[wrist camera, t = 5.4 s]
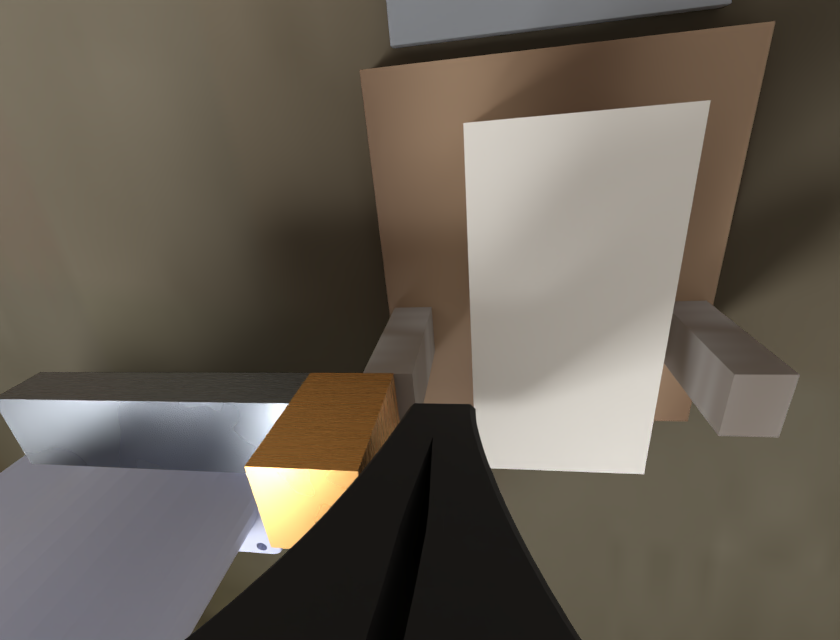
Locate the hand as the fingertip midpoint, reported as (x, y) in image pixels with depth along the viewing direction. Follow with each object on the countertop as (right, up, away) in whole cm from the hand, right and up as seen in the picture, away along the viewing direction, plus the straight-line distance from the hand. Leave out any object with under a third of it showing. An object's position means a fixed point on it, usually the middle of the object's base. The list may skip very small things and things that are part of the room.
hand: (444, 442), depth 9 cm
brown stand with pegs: (+3, +4, +4) cm, 7 cm away
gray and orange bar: (-6, 0, +2) cm, 6 cm away
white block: (+3, +4, +4) cm, 6 cm away
